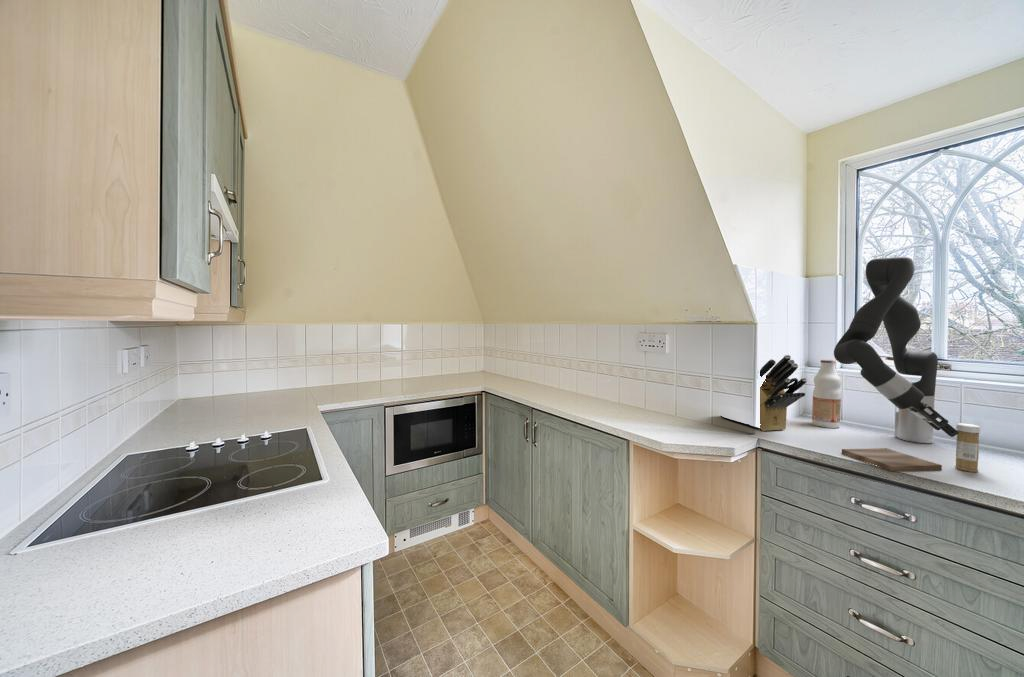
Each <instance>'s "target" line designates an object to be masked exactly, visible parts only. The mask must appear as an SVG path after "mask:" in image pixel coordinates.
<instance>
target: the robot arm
mask: <svg viewBox="0 0 1024 677" xmlns="http://www.w3.org/2000/svg"><path fill="white" fill-rule="evenodd" d="M915 267H916V266H915V262H914V260H913V259H912V258H911V257H908V256H894V257H891V256H890V257H878V258H873V259H871V260H869V261H868V262H867V264H866V266H865V277H866V282H867V284H868V286H869V288H870V290H871V291H872V294H873V296H874V297H873V298H872V299H870V300H868V301H867V302H866V303H864V304H863V305H862V306H860V307H859V309H858V310H857V311H856V312H855V314H854V316H853V318H852V320H851V322H850V325H849V327H848V328H847V330H846V331H845V333H844V334H843V335H842V337H841V338H840V339H839V340H838V342H837V343H836V345H835V347H834V349H833V356H834V359H835V361H837V362H838V363H840V364H842V365H851V364H854V363H856V364H857V365H858V366H859V367H860V369H861V370H860V375H861V377H862V378H863V379H865V381H867V382H868V383H869V384H870V385H871V386H873V387H874V388H875V389H876V390H877V391H878V392H879V393H880V394H881V395H882V396H884V398H885V399H887V400H888V401H889V402H891V404H893V405H894V406H895V407H896V408H897V409H898V411H896V412H895V414H894V416H895V418H894V420H895V421H894V437H895V438H896V437H897V438H898V439H901V440H903V441H907V442H912V443H919V444H920V443H921V444H933V443H934V442H933V440H934V430H936V431H940V430H941V431H943V432H944V433H945V434H946V435H947V436H949V437H950V438H951V437H952V438H954V437H955V436H957V434H958V433H959V432H958V431H957V429H956V428H954V427H953V426H952V425H950V423H949V420H948V419H947V418H945V417H943V415H941V414H940V413H939V412H938V411H936V410H935V396H936V394H935V393H936V386H937V385H936V384H937V373H938V364H939V363H938V362H939V358H938V355H937V354H936V352H934V351H929V350H926V351H925V350H910V349H907V345H908V344H909V342H910V341H911V340H912V339H913V338H914V336H915V335H917V334H918V333H919V331H920V329H921V326H922V324H921V319H920V315H919V312H918V308H916V306H915V305H913V303H912V302H911V301H910V300H908V299H906V298H905V297H904V296H902V295H901V294H902V293H903V292H904V291H905V289H906V287H908V285H909V283H910V282H911V280H912V279H913V277H914V273H915V270H916V268H915ZM882 323H883V326H884V328H885V331H886V334H887V337H888V339H889V340H888V341H889V344H890V347H891V352H892V359H893V363H894V367H895V369H896V371H895V370H894V369H893V368H891V367H890V366H889V365H888V364H886V363H885V362H884V360H883V359H882V357H881V356H880V354H878V352H877V351H876V350H875V349H874V347H873V346H872V345H870V344H869V343H868V342H869V341H870V340H872V339H873V338H875V336H876V334H877V332H878V331H879V329H880V326H881V324H882ZM900 374H901V375H900ZM902 375H904V376H905V375H906V376H916V377H920V380H918V381H915V382H910V381H909V380H908V379H906V378H905V377H904V376H902ZM938 419H939V420H940V421H938Z"/></svg>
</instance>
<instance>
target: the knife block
mask: <svg viewBox="0 0 1024 677" xmlns="http://www.w3.org/2000/svg"><path fill="white" fill-rule="evenodd" d="M791 357H792V356H791V355H790V354H785V355H783V357H782V358H781V359H780V360H779V361H778V362H777V361H776V360H774V359H769V360H768V361H767V362H766V363H765V364H764V365H763V366H762V367H761V368H760V370H759V371H760V376H761V377H762V376H763V375H766V374H767V375H766V379H765V381H766V382H765V381H764V382H763V384H762V386H761V387H760V424H761V425H760V429H761V430H762V431H761V430H760V429H759V430H760V431H761V432H766V431H778V430H779V431H783V430H786V428H787V416H788V415H787V414H788V412H787V410H788V407H789V406H791V405H793V404H794V403H795V402H797V401H798V400H799V399H801V398H804V397H805V396H806V392H796V391H798V390H799V389H801V388H802V387H804V385H805V384H806V383H807V382H808V380H807V378H806V377H801V379H800V380H799V379H798V378H796V377H791V375H793V373H794V372H796V370H797V369H798V368H799V365H798V364H797V363H796V362H795V360H794V359H792V358H791ZM776 362H777V363H776ZM789 377H791V379H790V378H789ZM785 390H786V391H785Z"/></svg>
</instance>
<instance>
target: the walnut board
mask: <svg viewBox="0 0 1024 677" xmlns="http://www.w3.org/2000/svg"><path fill="white" fill-rule="evenodd" d="M841 454H842V455H844V456H847V457H850V458H853V457H854V458H853V459H855V458H856V460H858V459H859V461H861V460H862V461H861V462H864V461H865V462H864V463H867V462H868V463H867V464H869V463H871V464H870V465H872V464H874V465H873V466H875V465H877V466H876V467H878V466H879V468H881V467H882V468H881V469H883V468H884V469H883V470H887V471H889V472H924V471H925V470H926V471H928V472H929V470H931V471H942V470H943V469H942V468H943V464H939V463H935V462H932V461H931V460H930V461H929V460H926V459H923V458H919V457H917V456H912V455H910V454H906V453H903V452H900V451H897V450H895V449H894V450H893V449H890V448H886V447H884V448H882V447H881V448H880V447H876V448H841ZM926 471H925V472H926Z"/></svg>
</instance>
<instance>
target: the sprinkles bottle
mask: <svg viewBox="0 0 1024 677" xmlns="http://www.w3.org/2000/svg"><path fill="white" fill-rule="evenodd" d="M955 430H957V431H958V432H959V433H958V434H957V435H956V444H955V445H956V448H955V465H954V468H956V469H957V470H960V471H964V472H971V473H977V472H979V468H978V467H979V466H978V465H979V457H980V456H979V454H980V452H979V451H980V450H979V448H980V447H979V446H980V445H979V442H980V439H979V438H980V433H981V427H980V426H979V425H976V424H972V423H965V422H964V423H961V422H959V423H957V424H956V427H955Z"/></svg>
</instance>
